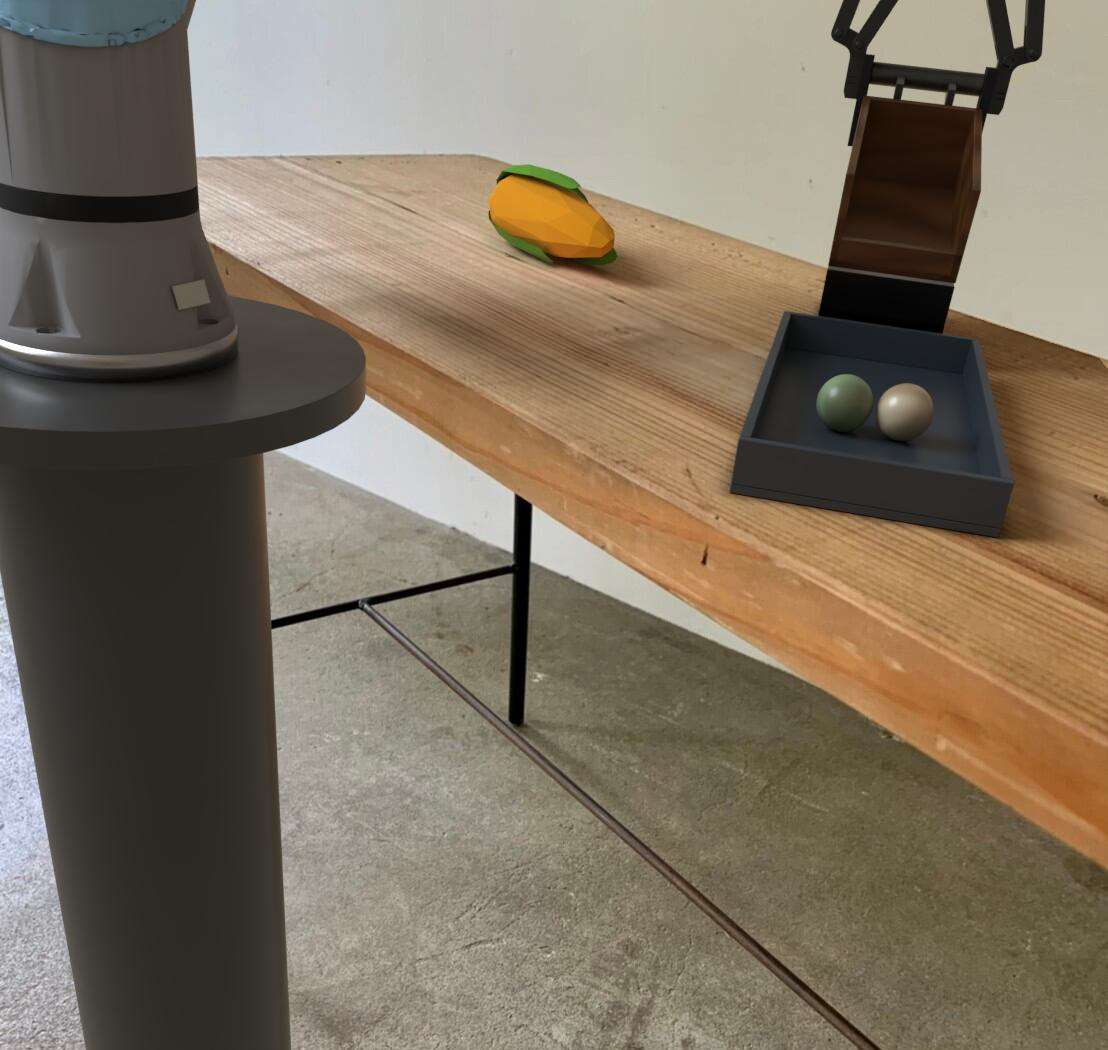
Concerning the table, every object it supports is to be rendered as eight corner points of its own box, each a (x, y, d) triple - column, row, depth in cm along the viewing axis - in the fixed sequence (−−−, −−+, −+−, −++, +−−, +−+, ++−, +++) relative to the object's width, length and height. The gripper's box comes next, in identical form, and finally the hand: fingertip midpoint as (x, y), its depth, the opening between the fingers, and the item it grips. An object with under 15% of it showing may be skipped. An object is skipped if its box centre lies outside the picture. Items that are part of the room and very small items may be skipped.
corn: (538, 150, 116) (654, 188, 102) (537, 234, 121) (648, 281, 107) (469, 155, 113) (580, 195, 99) (471, 241, 118) (576, 290, 104)
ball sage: (805, 397, 75) (805, 396, 72) (852, 363, 74) (854, 361, 71) (835, 442, 76) (836, 444, 73) (882, 409, 75) (886, 409, 71)
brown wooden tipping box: (955, 283, 87) (988, 165, 81) (827, 266, 88) (851, 149, 83) (960, 178, 101) (988, 71, 96) (850, 164, 103) (871, 58, 97)
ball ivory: (868, 382, 74) (859, 430, 73) (916, 365, 71) (907, 415, 70) (901, 409, 76) (892, 457, 75) (949, 394, 73) (940, 443, 72)
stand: (933, 369, 90) (954, 286, 87) (810, 351, 92) (827, 269, 89) (928, 318, 105) (946, 245, 101) (822, 303, 106) (836, 231, 103)
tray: (997, 537, 63) (1014, 483, 61) (729, 492, 65) (738, 438, 64) (968, 380, 89) (979, 338, 87) (776, 351, 91) (784, 310, 89)
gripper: (1133, -175, 88) (1041, 161, 101) (838, -197, 92) (783, 131, 104) (1151, -187, 82) (1050, 173, 95) (834, -210, 86) (776, 140, 98)
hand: (910, 151), depth 99 cm, fingers closed on brown wooden tipping box, 9 cm apart
